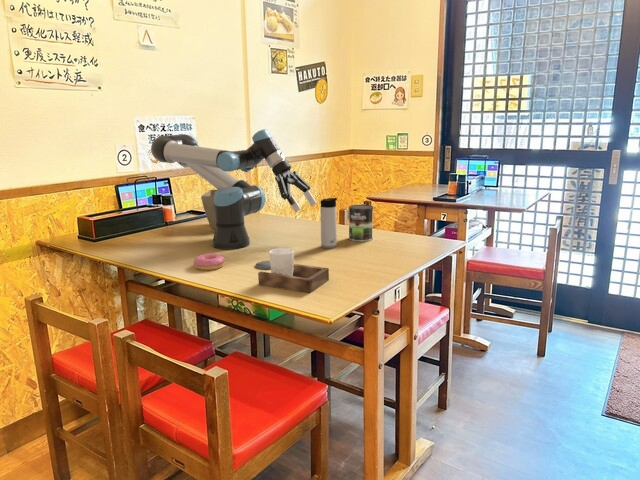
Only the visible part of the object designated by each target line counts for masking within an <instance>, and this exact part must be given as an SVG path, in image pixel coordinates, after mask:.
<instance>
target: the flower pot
mask: <svg viewBox="0 0 640 480" xmlns="http://www.w3.org/2000/svg"><path fill="white" fill-rule="evenodd" d="M217 190H218V189H217V188H216V189H209V190H208V191H206V192H204V193H203V194H201V195H200V197H201V198H200V199H201V202H202V203H201V204H202V206H203V210H204V213H205V216H206V218H207V221H208V224H209V226H210V229H212V230H216V220H215V207H214V194H215V192H216V191H217Z"/></svg>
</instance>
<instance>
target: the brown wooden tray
mask: <svg viewBox="0 0 640 480" xmlns="http://www.w3.org/2000/svg"><path fill="white" fill-rule="evenodd" d="M329 268H330V267H329ZM329 268H328V267H321V266H314V265H305V264H300V263H299V264H298V263H294V270H293V276H288V275H282V274H275V273H271V272H267V271H258V272H257V276H258V285H259V286H265V287H270V288H276V289H283V290H289V291H295V292H296V291H297V292H301V293H308V294H312V293H313V292H314V291H316V290H317V289H318V288H319V287H321V286H323V285H324V284H325V283H327V282H328V281H329V280H330V277H329V276H330V270H329Z"/></svg>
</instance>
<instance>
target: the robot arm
mask: <svg viewBox="0 0 640 480" xmlns="http://www.w3.org/2000/svg"><path fill="white" fill-rule="evenodd" d="M251 140H252V141H253V143H252V144H251V146H249V147H248V148H247V149H242V150H235V151H234V150H232V151H231V150H225V149H217V148H210V147H203V146H200V145H199V144H198V141H197V139H195V137H193V136H192V135H190V134H183V133H181V134H180V133H179V134H173V135H172V134H171V135H170V134H169V135H161V136H158V137H157V138H155V139H154V140H153V141H152V143H151V146H150V151H151V154H152V156H153V158H154V159H155V160H156V161H159V162H160V163H168V164H175V163H177V164H178V165H180V166H181V167H182V168H185V169H188V168H189V169H190V170H192V171H193V172H194V173H196V174H197V175H198V176H200V177H201V178H203V179H204V180H205V181H206V182H207V183H209V184H210V185H211V186H212V187H214V188H216V190H217V189H218V190H217V191H216V192H215V194H214V207H215V220H216V229H214V230H215V231H214V234H213V239H212V247H214V248H216V249H218V250H219V249H220V250H236V249H241V248H245V247H248V246H249V245H250V237H249V235H248V232H247V229H246V226H245V217H246V216H249V215H252V214H257V213H258V212H260V211H261V210H262V209H263V208H264V207H265V205H266V197H265V196H266V193H265V191H264V190H263V189H262V188H261V187H260V186H258V185H255V184H253V185H251V184H249V183H248V182H247V181H245V180H244V179H237V178H236V177H234V176H233V175H231V173H229V172H234V171H239V170H240V171H241V172H244V173H249V172H250V171H252V170H253V169H255V167H257V166H258V165H259V164H260V163H261V162H262V161H263V160H264V161H265V162H266V163H267V165H268V167H269V168H270V169H271V171H272V173H273V175H274V176H275V177H274V180H275V181H276V183H277V187H278V190H279V191H278V192H279V193H280V197H281V198H282V200H284V201H285V200H287V201H288V203H289V205H290V206H291V208H292V210H293V211H294V213H299V212H300V210H302V208H301V206H300V205H299V203H298V201H297V200H296V198H295V197H294V196H293V194H291V193H292V192H291V186H292V185H293V186H295V188H296V187H297V188H298V190H300V191H302V192H303V196H305V198H306V200H307V201H308V203H309V206H310V207H314V206H315V205H317V200H316V199H315V197H314V195H312V193H311V191H310V190H311V186H310V185H309V184H308V183H307V182H306V181H305V179H303V178H302V177H301V176H300V175H299V173H298V172H297V170H294V171H291V169H292V166H291V163H289V161H288V160H287V158H286V156H285V155H284V152H283V151H282V150H281V149H280V147H279V146H278V143H277V142H276V140H275V139H274V136H273V135H272V134H271V133H270V131H269V130H268V129H260V130H258V131H257V132H256V133H254V134H253V136H252V137H251ZM290 185H291V186H290Z"/></svg>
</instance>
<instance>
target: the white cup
mask: <svg viewBox="0 0 640 480" xmlns="http://www.w3.org/2000/svg"><path fill="white" fill-rule="evenodd" d="M268 254H269V261H270V266H271V269H270V273H275V274H282V275H288V276H293V270H294V264H295V262H294V261H295V251H294V249H293V248H288V247H278V248H277V247H276V248H273V249H271V250H269V253H268Z"/></svg>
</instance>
